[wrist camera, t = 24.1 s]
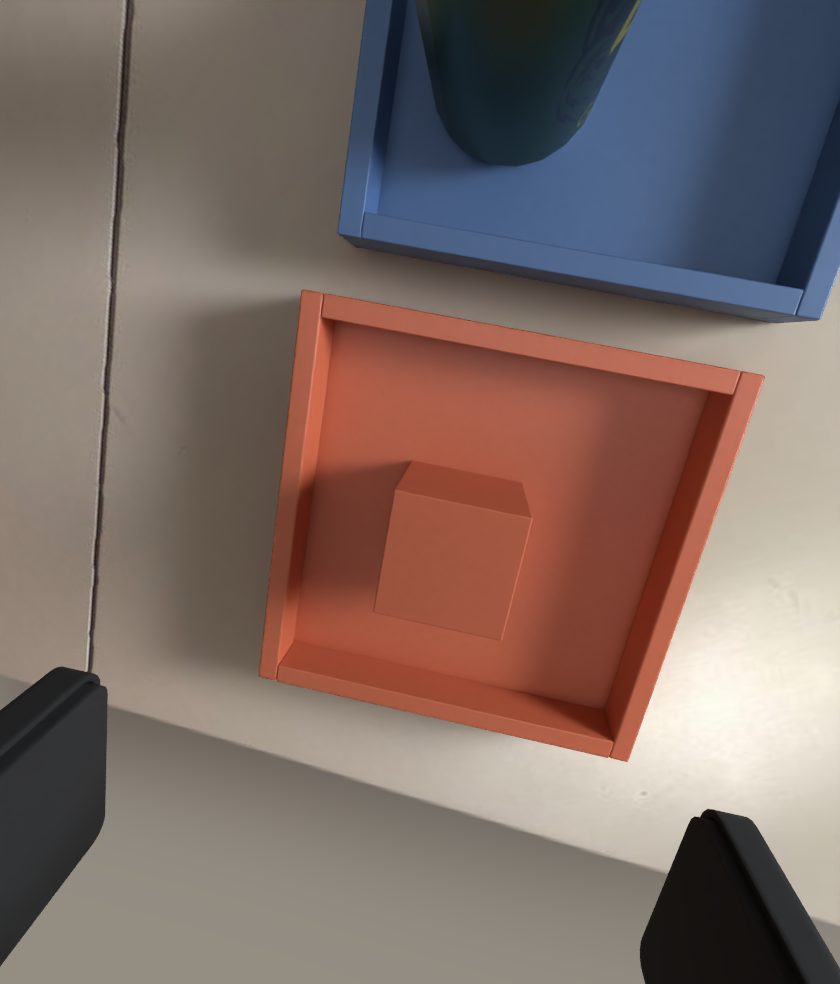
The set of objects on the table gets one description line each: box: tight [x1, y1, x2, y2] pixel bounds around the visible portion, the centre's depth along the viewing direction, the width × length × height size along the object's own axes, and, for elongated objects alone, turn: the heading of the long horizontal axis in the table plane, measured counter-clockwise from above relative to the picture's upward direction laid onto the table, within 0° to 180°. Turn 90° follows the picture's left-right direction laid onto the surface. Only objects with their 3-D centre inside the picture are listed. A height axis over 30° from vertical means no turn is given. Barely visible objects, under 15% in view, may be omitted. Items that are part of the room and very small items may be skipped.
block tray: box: [259, 290, 764, 762], centre depth 21 cm, size 16×16×3 cm
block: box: [373, 461, 533, 641], centre depth 20 cm, size 4×4×4 cm
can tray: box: [337, 0, 840, 323], centre depth 17 cm, size 16×13×3 cm
